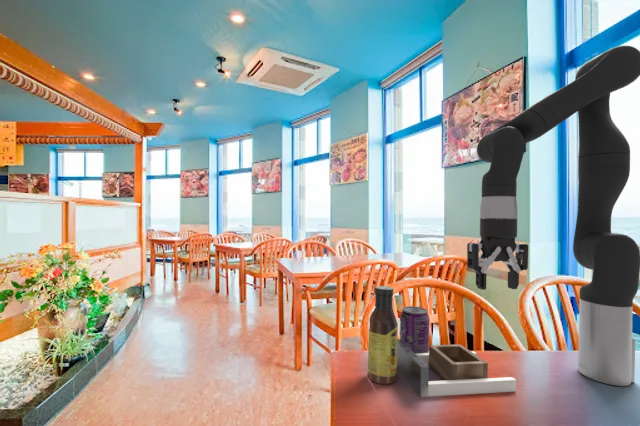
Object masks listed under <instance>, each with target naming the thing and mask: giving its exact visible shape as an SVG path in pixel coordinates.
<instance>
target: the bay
mask: <svg viewBox="0 0 640 426" xmlns="http://www.w3.org/2000/svg"><path fill="white" fill-rule="evenodd" d="M470 351H471V350H470ZM471 352H472V353H474V354H475V355H477V354H478V353H477V352H476V351H474V350H473V351H471ZM477 356H478V355H477ZM429 369H430V367H429V352H428V353H414V352H413V351H412V350H411V349H410V348H409V347H408V346H407V345H406V344H405V343H403V342H402V341H401V340H400V338H398V343H397V371H398V372H399V373H400V374H401V375H402V376H403V378H404V379H405V380H406V381H407V383H409V385H410V386H411V387H412V388H413V390H414V391H415V393H417V395H418V396H419V397H420V398H423V397H424V398H427V397H442V396H443V397H445V396H459V395H476V394H494V393H496V394H497V393H511V392H517V379H516V378H514V377H513V376H507V377H506V376H505V377H489V378H488V377H487V378H484V379H464V380H445V381H443V380H430V381H429V377H430V376H429V374H430V373H429V372H430V371H429Z"/></svg>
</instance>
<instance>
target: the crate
mask: <svg viewBox="0 0 640 426" xmlns="http://www.w3.org/2000/svg"><path fill="white" fill-rule="evenodd" d="M428 353H429V365H428V367H429V369H431V370H432V371H433V373H435V374H436V376H438V377H439V378H440V379H441V381H445V380H464V379H484V378H488V377H489V374H488V372H489V371H488V369H489V363H488V362H487V361H485V360H484V359H482V358H481V357H480V356H478V355H475V354H474V353H472V352H471V350H469V349H468V348H466V347H465V346H463V345H462V344H433V345H429V352H428Z"/></svg>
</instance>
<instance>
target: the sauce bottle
mask: <svg viewBox="0 0 640 426" xmlns="http://www.w3.org/2000/svg"><path fill="white" fill-rule="evenodd" d="M374 295H375V301H374V302H375V304H374V308H373V311H372V312H371V314H370V317H369V328H368V348H367V349H368V355H367V356H368V357H367V358H368V359H367V370H368V373H367V374H368V375H367V376H368V378H369V380H371V381H372V382H374V383H376V384H378V385H390V384H393V383H395V381H396V380H397V373H398V369H397V343H398V339H399V338H398V336H399V335H398V332H399V331H398V330H399V325H398V320H397V318H396V315H395V311H394V308H393V296H394V288H393V287H391V286H385V285H379V286H378V285H376V286H375V287H374Z"/></svg>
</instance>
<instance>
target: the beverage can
mask: <svg viewBox="0 0 640 426" xmlns="http://www.w3.org/2000/svg"><path fill="white" fill-rule="evenodd" d="M399 318H400V319H399V320H400V321H399V323H400V326H399V328H400V329H399V339H400V340H401V341H402V342H403V343H405V344H406V345H407V346H408V347H409V348H410V349H411V350H412V351H413V352H414V353H429V344H430V343H429V341H430V317H429V314H428V309H426V308H423V307H419V306H410V305H409V306H403V307H402V312H401V313H400V317H399Z"/></svg>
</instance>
